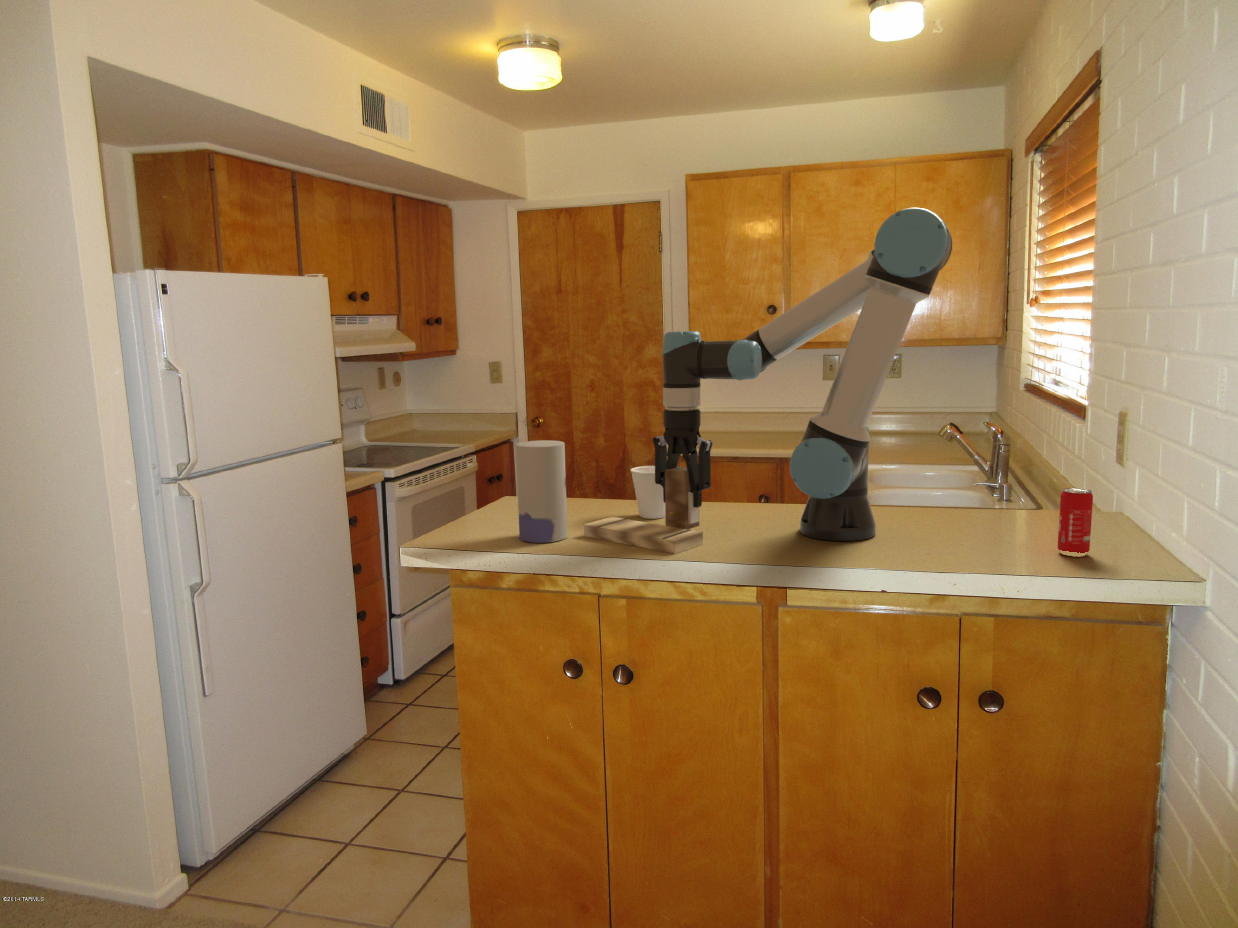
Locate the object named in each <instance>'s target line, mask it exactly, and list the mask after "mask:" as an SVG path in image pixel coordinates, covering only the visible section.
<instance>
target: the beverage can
mask: <svg viewBox="0 0 1238 928" xmlns="http://www.w3.org/2000/svg"><path fill="white" fill-rule="evenodd" d="M1059 499H1060V500H1059V501H1060V502H1059V516H1058V518H1059V519H1058V533H1057V534H1058V535H1057V550H1058V551H1059V550H1062V551H1069V552H1077V553H1079V552H1080V553H1085V552H1088V553H1089V551H1090V549H1091V548H1090V547H1091V532H1092V519H1093V506H1094V505H1093V503H1094V502H1093V501H1094V495H1093V491H1092V490H1091V489H1087V488H1082V487H1081V488H1080V487H1066V488H1063V489H1062V491H1061V493H1060V498H1059Z"/></svg>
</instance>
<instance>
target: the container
mask: <svg viewBox="0 0 1238 928" xmlns="http://www.w3.org/2000/svg"><path fill="white" fill-rule="evenodd" d="M565 446H566V445H565V441H561V440H550V439H549V440H546V439H544V440H543V439H542V440H528V441H521V442H517V443H516V444H515V456H516V457H515V458H516V459H515V460H516V484H517V505H518V507H517V508H518V527H519V528H518V529H519V530H518V531H519V534H518V535H519V539H520V540H521V541H522V542H526V543H527V542H528V543H533V544H534V543H536V544H537V543H538V544H545V543H553V542H559V541H562V540H565V539H567V538H568V523H567V522H568V511H567V508H568V507H567V506H568V505H567V504H568V503H567V482H566V481H567V479H566V478H567V476H566V474H567V473H566V450H565V448H566V447H565Z"/></svg>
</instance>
